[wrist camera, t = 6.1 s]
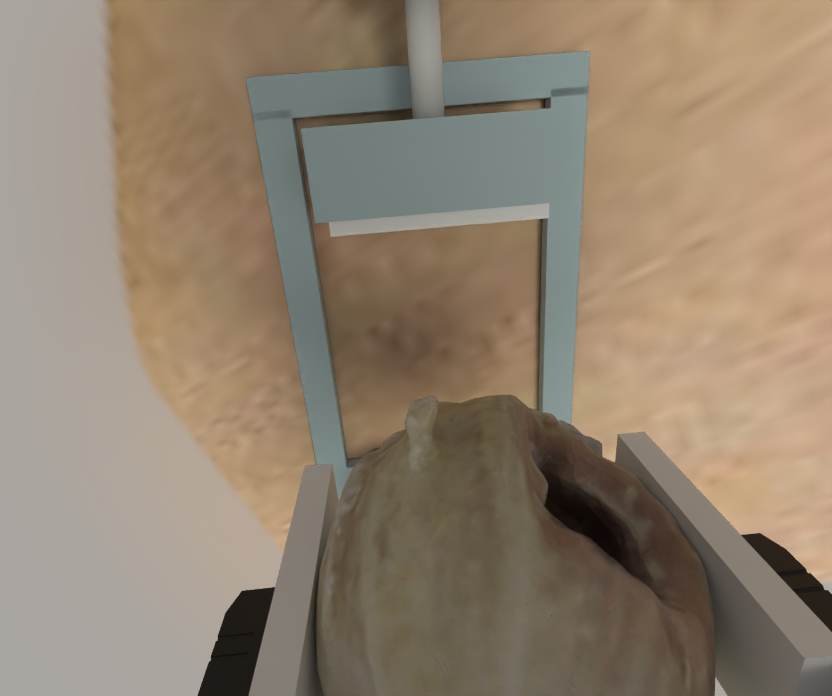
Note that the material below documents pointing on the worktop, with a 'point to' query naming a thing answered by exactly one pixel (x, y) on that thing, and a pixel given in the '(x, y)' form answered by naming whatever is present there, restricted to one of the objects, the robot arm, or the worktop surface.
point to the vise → (391, 91)
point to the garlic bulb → (507, 567)
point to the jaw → (436, 157)
